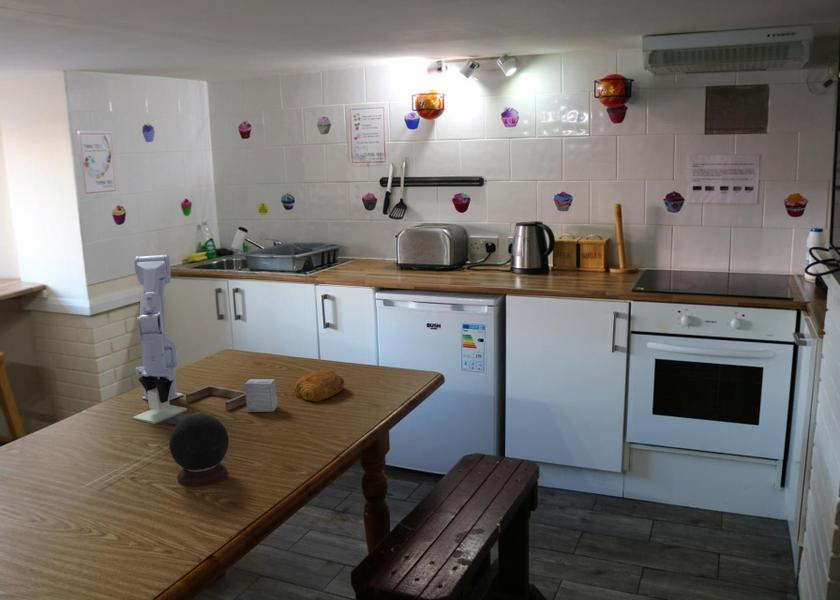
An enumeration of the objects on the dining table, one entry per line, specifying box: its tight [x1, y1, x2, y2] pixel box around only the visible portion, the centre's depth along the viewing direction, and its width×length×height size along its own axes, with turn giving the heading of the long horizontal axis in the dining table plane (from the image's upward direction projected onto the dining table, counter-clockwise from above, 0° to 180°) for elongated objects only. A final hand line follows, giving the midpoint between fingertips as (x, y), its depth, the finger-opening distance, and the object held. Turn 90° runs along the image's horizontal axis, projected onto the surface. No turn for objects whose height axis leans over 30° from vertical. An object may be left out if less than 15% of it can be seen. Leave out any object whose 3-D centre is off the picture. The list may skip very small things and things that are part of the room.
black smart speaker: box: [169, 413, 230, 488], centre depth 174 cm, size 13×13×15 cm
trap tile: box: [163, 413, 189, 426], centre depth 212 cm, size 6×6×1 cm
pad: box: [131, 404, 188, 425], centre depth 217 cm, size 9×12×1 cm
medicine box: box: [244, 378, 278, 413], centre depth 218 cm, size 8×4×9 cm, turn 84°
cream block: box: [147, 388, 171, 410], centre depth 216 cm, size 4×4×5 cm
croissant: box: [294, 370, 345, 402], centre depth 231 cm, size 14×16×8 cm
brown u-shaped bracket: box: [185, 384, 246, 412], centre depth 227 cm, size 17×10×2 cm, turn 60°
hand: (158, 400), depth 216 cm, fingers closed on cream block, 4 cm apart
